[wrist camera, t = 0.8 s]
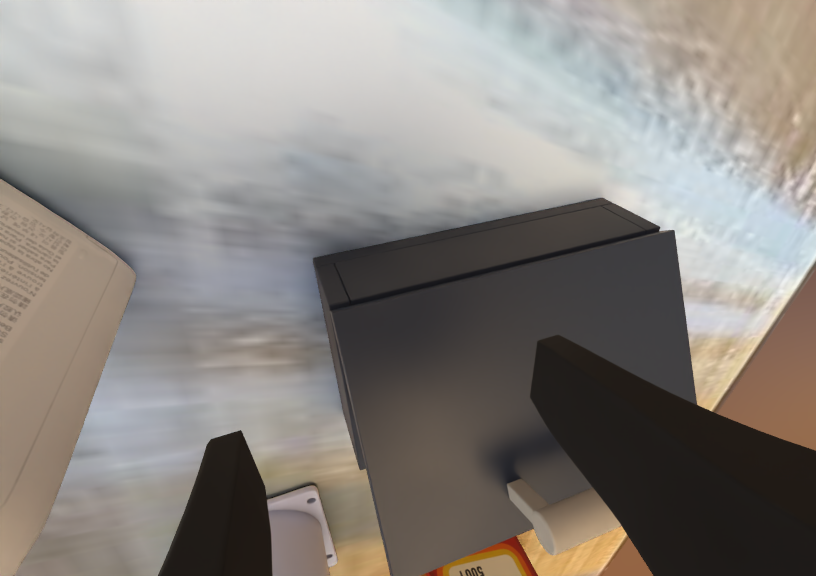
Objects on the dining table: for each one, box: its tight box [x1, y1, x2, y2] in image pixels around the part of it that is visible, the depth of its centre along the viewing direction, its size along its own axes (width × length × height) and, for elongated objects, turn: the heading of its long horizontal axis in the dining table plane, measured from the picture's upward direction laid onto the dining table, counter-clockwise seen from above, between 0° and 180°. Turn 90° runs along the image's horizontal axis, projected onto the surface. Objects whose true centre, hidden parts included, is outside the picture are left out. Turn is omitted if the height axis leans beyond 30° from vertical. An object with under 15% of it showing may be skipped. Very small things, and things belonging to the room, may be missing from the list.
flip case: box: [313, 198, 660, 470], centre depth 22 cm, size 10×15×4 cm
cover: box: [330, 230, 697, 576], centre depth 16 cm, size 11×15×4 cm
